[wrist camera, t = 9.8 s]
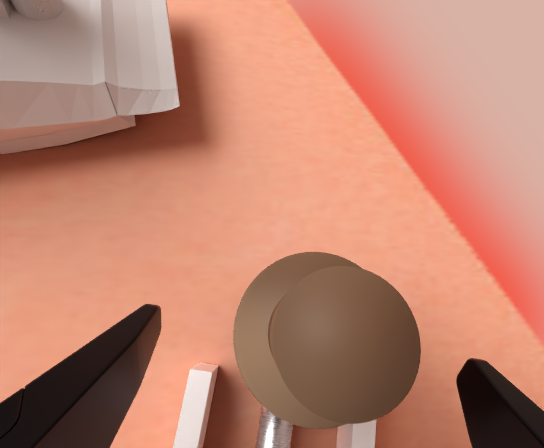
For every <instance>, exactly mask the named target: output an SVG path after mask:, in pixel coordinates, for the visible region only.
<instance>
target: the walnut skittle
mask: <svg viewBox="0 0 544 448" xmlns="http://www.w3.org/2000/svg"><path fill="white" fill-rule="evenodd" d="M234 350H235V356H236V360H237V364H238V368H239V370H240V373H241V375H242V378H243V379H244V381H245V383H246V385H247V387H248V388H249V390H250V391H251V392H252V394H253V395H254V397H255V398H256V399H257V400H258V401H259V402H260V403H261V404H262V405H263V406H264V407H265V408H266V409H267V410H269V411H270V412H271V413H273V414H274V415H275V416H277V417H279V418H281V419H282V420H284V421H287V422H289V423H291V424H294V425H297V426H301V427H305V428H314V429H326V428H334V427H338V426H342V425H345V424H359V423H365V422H370V421H373V420H375V419H378V418H380V417H382V416H384V415H386V414H387V413H389V412H390V411H392V410H393V409H394V408H396V407H397V406H398V405H399V404H400V403H401V402H402V400H403V399H404V398H405V397H406V395H407V394H408V392H409V391H410V389H411V387H412V385H413V383H414V381H415V378H416V375H417V372H418V368H419V363H420V353H421V349H420V337H419V331H418V328H417V324H416V321H415V319H414V316H413V314H412V312H411V310H410V308H409V306H408V304H407V303H406V301H405V300H404V299H403V297H402V296H401V295H400V294H399V292H398V291H397V290H396V289H395V288H394V287H393V286H392V285H390V284H389V283H388V282H387V281H385V280H384V279H382V278H381V277H380V276H378V275H376V274H374V273H372V272H369V271H367V270H364V269H362V268H361V267H359V266H358V265H356V264H355V263H353V262H351V261H349V260H347V259H345V258H342V257H339V256H337V255H333V254H328V253H321V252H305V253H298V254H294V255H291V256H287V257H285V258H283V259H280V260H278V261H276V262H275V263H273V264H271V265H270V266H268V267H267V268H266V269H265V270H263V271H262V272H261V273H260V274H259V275H258V276H257V277H256V278H255V279H254V280H253V282H252V283H251V284H250V286H249V287H248V288H247V290H246V292H245V294H244V296H243V297H242V299H241V302H240V305H239V307H238V310H237V314H236V318H235V324H234Z"/></svg>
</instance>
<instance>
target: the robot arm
mask: <svg viewBox="0 0 544 448" xmlns="http://www.w3.org/2000/svg"><path fill="white" fill-rule="evenodd" d="M160 332H161V308H160V306H158V305H152V304H145V305H143V306H142V307H140V308H139V309H137V310H136V311H134V312H133V313H131V314H130V315H128V316H127V317H126V318H124V319H123V320H121V321H120V322H118V323H117V324H115V325H114V326H112V327H111V328H109V329H108V330H107V331H105V332H104V333H102V334H101V335H99V336H98V337H96V338H95V339H93V340H92V341H90V342H89V343H88V344H86V345H85V346H83V347H82V348H80V349H79V350H77V351H76V352H74V353H73V354H71V355H70V356H68V357H67V358H66V359H64V360H63V361H61V362H60V363H58V364H57V365H55V366H54V367H52V368H51V369H49V370H48V371H47V372H45V373H44V374H42V375H41V376H39V377H38V378H36V379H35V380H33V381H32V382H30V383H29V384H28V385H26V386H25V389H24V388H22V389H20V390H19V391H17V392H16V393H14V394H13V395H11V396H10V397H8V398H7V399H5V400H4V401H2V402H1V403H0V448H110V446H111V444H112V442H113V440H114V438H115V436H116V434H117V432H118V430H119V428H120V426H121V424H122V422H123V420H124V418H125V416H126V414H127V412H128V410H129V408H130V406H131V404H132V402H133V400H134V398H135V396H136V394H137V392H138V390H139V387H140V385H141V383H142V380H143V378H144V375H145V373H146V370H147V367H148V364H149V362H150V359H151V356H152V354H153V351H154V348H155V346H156V343H157V340H158V338H159V335H160ZM457 388H458V392H459V396H460V400H461V405H462V409H463V413H464V417H465V422H466V426H467V430H468V434H469V437H470V441H471V444H472V447H473V448H544V411H543V410H542V409H541V408H539V407H538V406H537V405H536V404H535V403H534V402H533V401H531V400H530V399H529V398H528V397H527V396H526V395H525V394H523V393H522V392H521V391H520V390H519V389H518V388H517V387H515V386H514V385H513V384H512V383H511V382H510V381H509V380H507V379H506V378H505V377H504V376H503V375H502V374H501V373H499V372H498V371H497V370H496V369H495V368H494V367H493V366H491V365H490V364H489V363H488V362H487V361H485V360H481V359H475V358H470V359H468V360H467V361H466V363H465V364H464V366H463V367H462V369H461V371H460V372H459V374H458V376H457Z"/></svg>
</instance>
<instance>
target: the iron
mask: <svg viewBox="0 0 544 448" xmlns="http://www.w3.org/2000/svg"><path fill="white" fill-rule="evenodd" d="M179 106H180V105H179V94H178V86H177V78H176V70H175V63H174V55H173V47H172V40H171V32H170V24H169V17H168V9H167V1H166V0H0V154H7V153H15V152H22V151H28V150H34V149H40V148H47V147H53V146H59V145H65V144H69V143H72V142H76V141H80V140H84V139H87V138H91V137H95V136H98V135H102V134H106V133H110V132H114V131H118V130H121V129H125V128H129V127H133V126H136V125H135V115H140V114H150V113H156V112H163V111H168V110H172V109H174V108H176V107H179Z"/></svg>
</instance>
